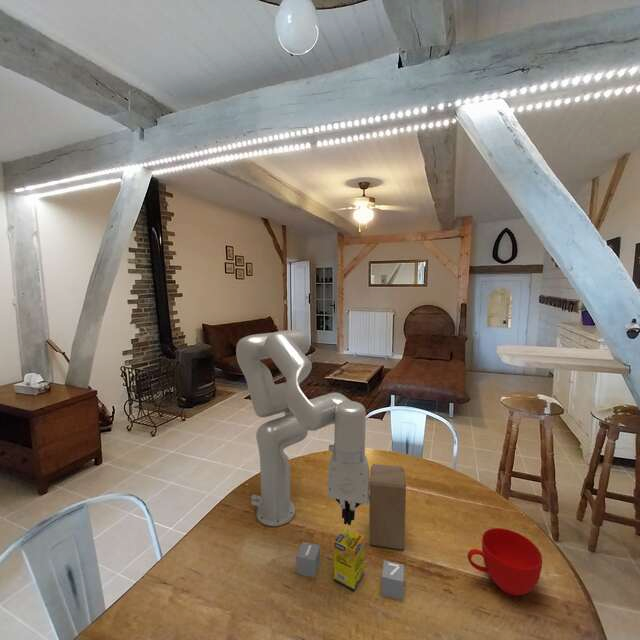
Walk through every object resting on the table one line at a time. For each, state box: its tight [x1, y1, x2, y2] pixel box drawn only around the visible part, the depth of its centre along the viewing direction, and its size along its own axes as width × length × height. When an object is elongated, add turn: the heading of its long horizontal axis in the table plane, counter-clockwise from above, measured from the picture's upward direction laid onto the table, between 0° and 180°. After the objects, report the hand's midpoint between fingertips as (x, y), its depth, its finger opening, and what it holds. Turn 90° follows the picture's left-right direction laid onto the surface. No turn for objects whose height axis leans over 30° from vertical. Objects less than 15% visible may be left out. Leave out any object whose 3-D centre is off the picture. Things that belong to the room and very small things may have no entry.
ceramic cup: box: [467, 527, 543, 597], centre depth 82 cm, size 13×17×10 cm
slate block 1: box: [295, 541, 321, 579], centre depth 87 cm, size 5×5×5 cm
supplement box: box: [333, 527, 365, 592], centre depth 84 cm, size 6×6×11 cm
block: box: [368, 463, 407, 550], centre depth 97 cm, size 10×10×20 cm
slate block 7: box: [381, 559, 405, 601], centre depth 81 cm, size 5×5×5 cm
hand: (348, 520), depth 83 cm, fingers closed
